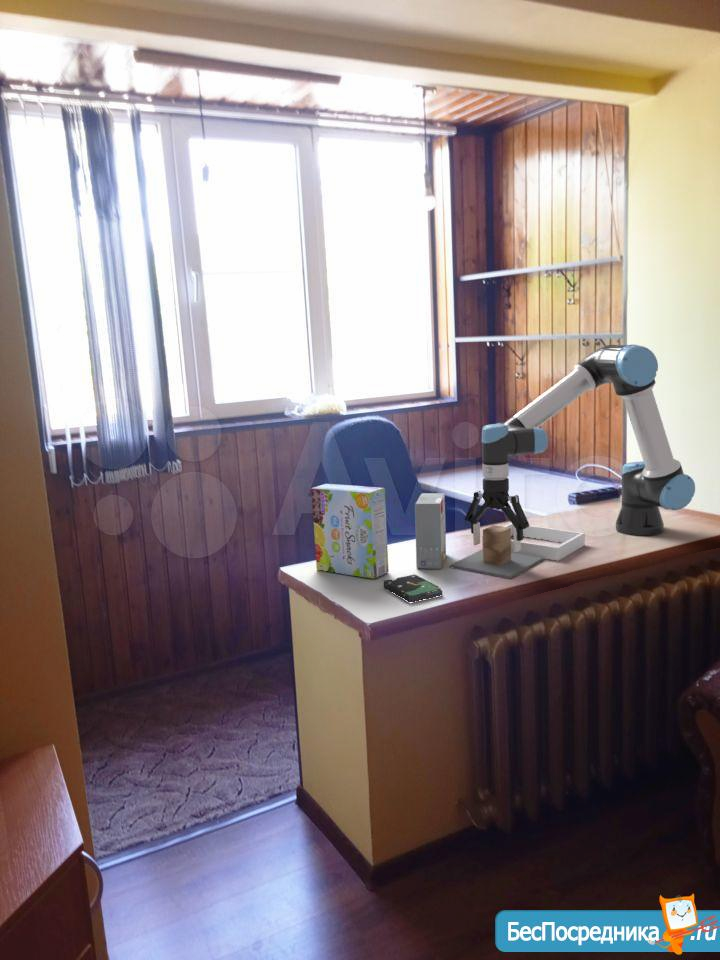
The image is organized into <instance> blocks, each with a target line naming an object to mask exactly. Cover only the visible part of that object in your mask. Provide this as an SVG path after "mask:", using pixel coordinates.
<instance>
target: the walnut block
mask: <svg viewBox="0 0 720 960" xmlns="http://www.w3.org/2000/svg"><path fill="white" fill-rule="evenodd" d="M482 536H483V548H482V549H483V562H484V563H490V564H495V565H503V564H505V563H507V562H509V561H511V540H512V536H511V528H508V527H503V526H502V525H501V526H500V525H494V524H493V525H491V526H489V527H486V528H483V529H482Z"/></svg>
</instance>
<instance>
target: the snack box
mask: <svg viewBox="0 0 720 960" xmlns="http://www.w3.org/2000/svg"><path fill="white" fill-rule="evenodd" d="M310 489H311V501H312V517H313V532H314V533H313V534H314V548H315V549H314V550H315V562H316V563H315V565H316V571H319V570H324V571H323V572H326V571H329V573H333V572H335V573H334V574H339V573H340V574H341V575H345V576H346V575H347V576H353V577H360V578H366V579H373V580H374V579H377V578H379V577H382V576H384V575H385V574H387V573H389V570H390V569H389V556H388V555H389V554H388V552H389V549H388V533H387V531H388V530H387V510H386V508H387V506H386V488H385V487H375V486H363V485H351V484H350V485H349V484H337V483H335V484H334V483H324V484H321V485H318V486H314V487H311V488H310Z"/></svg>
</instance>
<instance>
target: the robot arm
mask: <svg viewBox="0 0 720 960" xmlns="http://www.w3.org/2000/svg"><path fill="white" fill-rule="evenodd" d="M658 364H659V363H658V359H657V357H656V355H655V354H654V352H653V351H652V350H651V349H650V348H648V347H645V346H643V345H639V344H607V345H604V346H601V347H600V348H597V349H596V350H594V351H593V352H592V353H590V354H588V355H587V356H585V357H584V358H583V359H582V360H580V361H578V362H577V363H576V364H575V365H573V367H572V371H571V372H569V373H568V374H567V375H566V376H565V377H563V378H561V380H559V381H558V382H556V383H555V384H554V385H553V386H551V387H550V388H549V389H547V390H546V391H545V392H543V393H542V394H541V395H539V396H538V397H537V398H536V399H534V400H533V401H531V402H530V403H529V404H528V405H526V406H525V407H523V409H521V410H519V411H518V412H517V413H515V415H513V416H512V417H510V418H508V419H507V420H506V421H505V422H498V423H493V424H492V423H491V424H487V425H484V426H483V427H482V429H481V452H482V455H481V459H482V461H481V462H482V465H481V466H482V477H483V479H482V491H483V492H482V491H481V490H478V491H475V492H473V497H472V498H473V499H472V502H471V503H470V505H469V507H468V510H467V512H466V514H465V517H464V520H465V521H466V522H469V523H470V533H471V534H472V535H473V536H472V537H473V546H474V547H475V546H478V545H479V544H481V522H479V520H480V518H482V517H483V515H484V514H485V513H486V512H487V511H488V509H491V510H493V509H495V510H498V511H499V510H500V511H501V512H503V513H504V514H505V515H506V517H507V518H508V520H509V521H510V523H512V524H513V525H514V527H515V528H516V529H515V530H514V535H513V540H514V552H518V551H520V550H521V541H523V540H524V537H523V529H525V528H527V527H529V525H530V524H529V521H528V518H527V517H526V514H525V512H524V510H523V507H522V505H521V503H520V497H519V495H518V494H515V495H510V494H509V489H510V483H509V476H510V474H509V471H510V469H509V460H510V459H509V458H510V457H514V456H524V455H536V454H541V453H544V452H545V451H546V450H547V448H548V444H549V443H548V441H549V439H548V434H547V432H546V431H545V429H543V428H541V426H542V425H544V424H545V423H546V422H547V421H549V420H550V419H551V418H553V417H554V416H556V415H557V414H558V413H559V412H561V411H562V410H563V409H565V408H566V407H567V406H569V405H571V403H573V402H574V401H575V400H577V399H578V398H579V397H580V396H582V395H583V394H584V393H586V392H587V391H594V390H595V389H596V388H598V387H600V386H602V385H605V384H612V385H613V389H614V391H615V395H616V397H619V398H621V399H623V402H624V405H625V408H626V412H627V415H628V418H629V421H630V424H631V427H632V430H633V434H634V436H635V440H636V442H637V446H638V449H639V451H640V454H641V457H642V461H631V462H627V463H625V464H623V466H622V468H621V469H622V470H621V507H620V510H619V512H618V515H617V518H616V521H615V530H616V531H617V532H620V533H622V534H626V535H632V536H633V535H634V536H654V535H659V534H662V533H663V532H664V531H665V530H664V529H665V527H664V526H665V524H664V520H663V517H662V513H661V511H660V508H662V509H664V510H670V511H678V510H682V509H684V508H685V507H688V505H689V504H690V503H691V501H692V500H693V498H694V496H695V493H696V483H695V481H694V479H693V478H692V477H691V476H689V474H687V473H686V474H685V473H684V470H683V468H682V467H683V466H682V463H681V461H680V460H678V459H675V458H674V455H673V452H672V449H671V447H670V443H669V440H668V435H667V434H666V430H665V427H664V423H663V420H662V418H661V413H660V410H659V408H658V404H657V401H656V397H655V394H654V392H653V388H654V386H655V385H656V382H657V381H656V377H657V372H658V370H659V365H658ZM481 499H483V501H484V502H483V504H482V505H481V507H479V509H478V506H479V505H480V502H481ZM510 504H511V505H510ZM477 509H478V511H477ZM476 511H477V512H476ZM661 532H662V533H661Z"/></svg>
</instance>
